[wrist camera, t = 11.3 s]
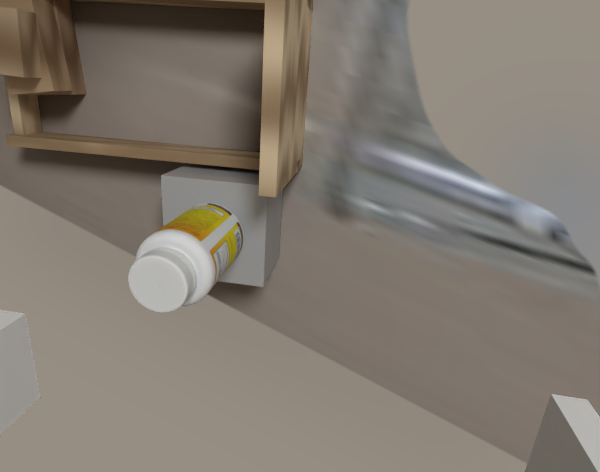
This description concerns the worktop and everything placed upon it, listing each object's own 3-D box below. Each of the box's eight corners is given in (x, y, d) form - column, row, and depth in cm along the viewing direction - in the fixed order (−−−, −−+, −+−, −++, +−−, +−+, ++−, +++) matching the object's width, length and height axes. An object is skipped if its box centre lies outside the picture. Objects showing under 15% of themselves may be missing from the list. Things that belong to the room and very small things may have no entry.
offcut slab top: (8, 2, 37) (-16, -3, 34) (51, -3, 36) (29, -9, 34) (32, 94, 39) (11, 94, 37) (72, 90, 39) (53, 91, 36)
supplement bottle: (170, 219, 36) (97, 267, 26) (222, 188, 34) (164, 227, 25) (206, 273, 37) (149, 337, 27) (258, 245, 35) (216, 303, 26)
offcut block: (0, 8, 35) (-21, 4, 33) (35, 13, 34) (16, 8, 32) (7, 73, 36) (-12, 72, 34) (41, 78, 36) (23, 77, 34)
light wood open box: (12, -15, 38) (-136, -58, 27) (313, -1, 35) (287, -43, 24) (35, 141, 43) (-82, 160, 32) (301, 166, 40) (275, 197, 28)
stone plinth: (193, 161, 41) (160, 175, 35) (283, 170, 40) (267, 186, 34) (195, 246, 44) (165, 274, 38) (279, 256, 43) (263, 287, 37)
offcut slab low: (29, 4, 39) (7, -2, 37) (73, 1, 38) (54, -4, 36) (47, 94, 42) (28, 95, 39) (89, 94, 41) (72, 94, 39)
